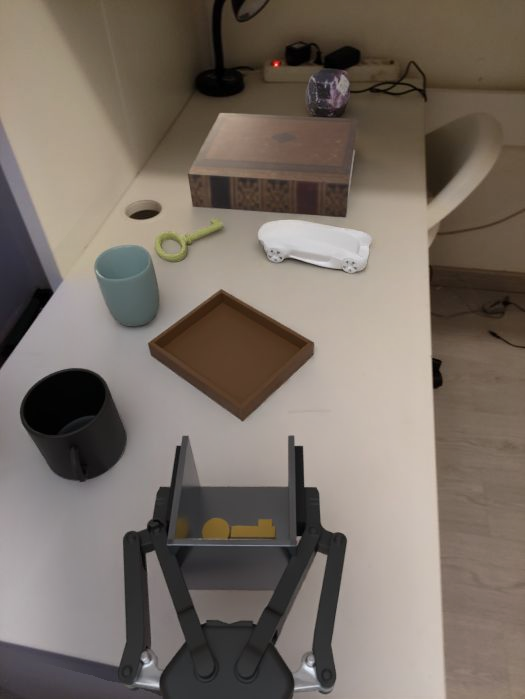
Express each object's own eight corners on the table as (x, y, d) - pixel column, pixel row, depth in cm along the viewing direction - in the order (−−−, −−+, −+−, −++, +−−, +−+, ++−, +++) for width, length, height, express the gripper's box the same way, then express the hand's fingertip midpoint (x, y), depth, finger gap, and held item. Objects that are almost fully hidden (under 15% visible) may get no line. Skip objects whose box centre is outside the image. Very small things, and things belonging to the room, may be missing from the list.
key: (227, 231, 93) (226, 221, 91) (173, 266, 87) (171, 255, 85) (199, 216, 96) (197, 206, 95) (145, 249, 90) (142, 238, 89)
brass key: (201, 547, 45) (200, 544, 45) (203, 520, 47) (203, 517, 47) (275, 547, 45) (275, 545, 45) (275, 520, 47) (275, 518, 46)
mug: (48, 512, 59) (17, 470, 52) (46, 425, 66) (19, 378, 60) (134, 488, 60) (115, 444, 53) (122, 406, 68) (104, 359, 61)
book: (345, 217, 94) (348, 183, 90) (192, 206, 99) (187, 173, 94) (355, 150, 111) (358, 118, 106) (223, 143, 115) (220, 112, 110)
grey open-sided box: (295, 591, 43) (296, 546, 37) (184, 589, 44) (166, 545, 37) (293, 489, 49) (294, 435, 43) (196, 489, 50) (182, 435, 43)
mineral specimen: (320, 121, 116) (313, 70, 112) (303, 122, 125) (295, 75, 121) (361, 112, 118) (355, 61, 113) (341, 113, 127) (335, 66, 123)
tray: (150, 355, 74) (147, 343, 72) (222, 301, 81) (221, 288, 79) (242, 421, 66) (241, 409, 64) (313, 355, 73) (314, 342, 71)
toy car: (371, 245, 89) (374, 222, 85) (364, 275, 84) (368, 252, 80) (265, 232, 92) (265, 209, 89) (253, 260, 87) (252, 237, 84)
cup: (111, 302, 82) (93, 248, 74) (162, 294, 82) (150, 240, 75) (111, 338, 76) (92, 284, 69) (165, 329, 77) (152, 275, 70)
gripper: (51, 802, 33) (122, 476, 48) (405, 812, 32) (365, 477, 48) (4, 795, 28) (101, 429, 43) (430, 806, 27) (375, 429, 42)
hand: (240, 454), depth 45 cm, fingers closed on grey open-sided box, 9 cm apart
